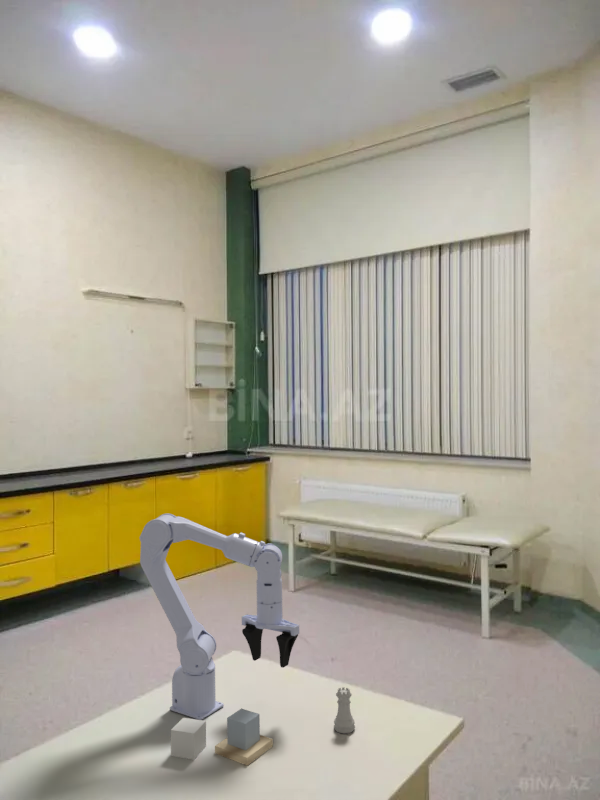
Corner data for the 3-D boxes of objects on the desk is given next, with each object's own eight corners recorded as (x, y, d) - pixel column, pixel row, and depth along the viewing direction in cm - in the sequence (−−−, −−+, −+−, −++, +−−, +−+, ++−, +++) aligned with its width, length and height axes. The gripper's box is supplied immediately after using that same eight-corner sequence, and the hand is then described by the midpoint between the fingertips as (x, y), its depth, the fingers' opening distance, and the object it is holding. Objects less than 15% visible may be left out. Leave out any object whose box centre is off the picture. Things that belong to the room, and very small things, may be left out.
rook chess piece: (353, 735, 123) (353, 695, 123) (332, 733, 124) (331, 693, 124) (356, 724, 127) (355, 686, 127) (335, 722, 128) (334, 684, 128)
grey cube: (171, 756, 116) (170, 729, 116) (183, 743, 121) (183, 717, 121) (194, 760, 115) (194, 733, 115) (206, 746, 119) (205, 720, 120)
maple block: (215, 756, 117) (215, 745, 117) (241, 738, 124) (241, 728, 124) (247, 768, 112) (247, 758, 113) (272, 749, 119) (272, 739, 119)
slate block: (227, 744, 118) (227, 718, 118) (241, 733, 121) (241, 708, 122) (245, 750, 115) (245, 723, 115) (259, 739, 119) (259, 713, 119)
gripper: (232, 600, 136) (233, 661, 135) (286, 610, 128) (287, 675, 127) (252, 592, 142) (252, 651, 141) (304, 601, 134) (305, 664, 133)
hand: (270, 662), depth 135 cm, fingers open, 7 cm apart
